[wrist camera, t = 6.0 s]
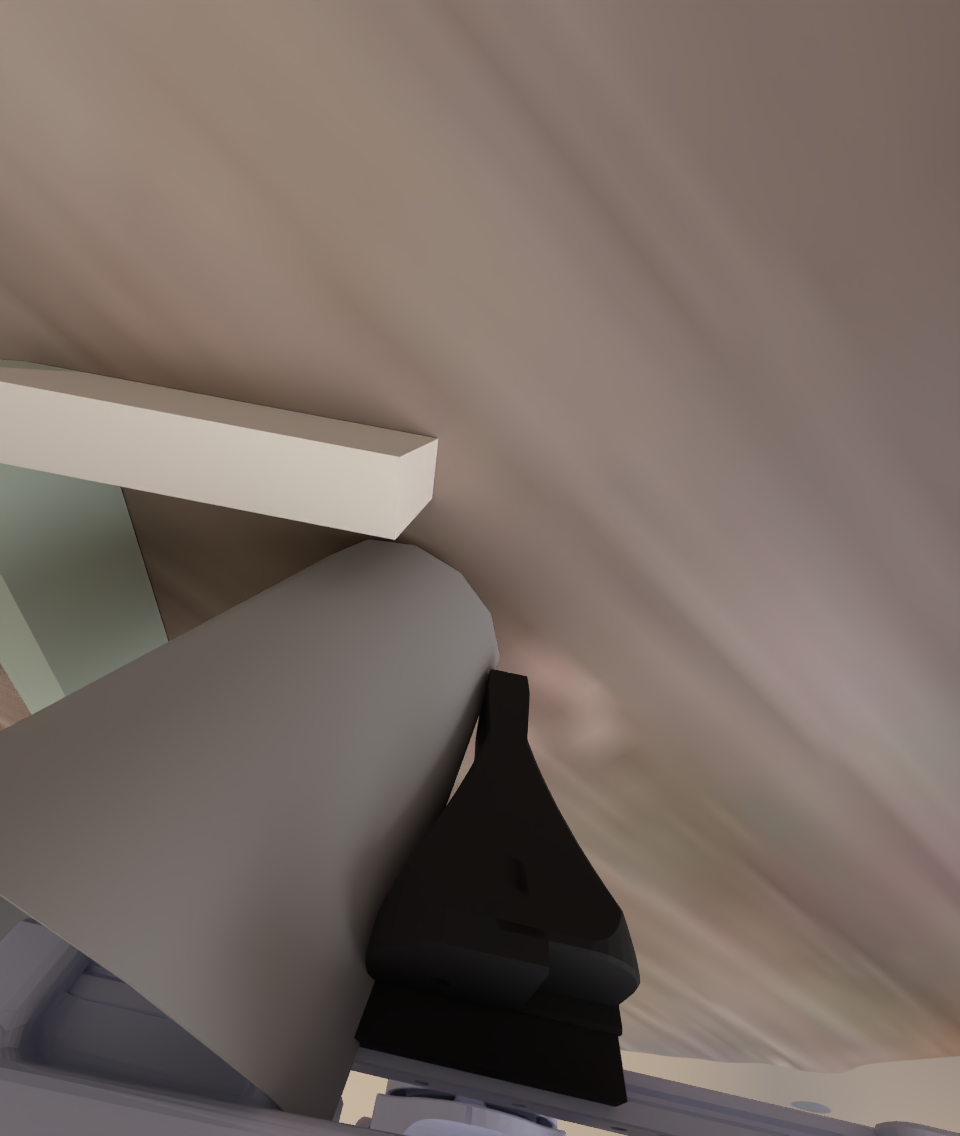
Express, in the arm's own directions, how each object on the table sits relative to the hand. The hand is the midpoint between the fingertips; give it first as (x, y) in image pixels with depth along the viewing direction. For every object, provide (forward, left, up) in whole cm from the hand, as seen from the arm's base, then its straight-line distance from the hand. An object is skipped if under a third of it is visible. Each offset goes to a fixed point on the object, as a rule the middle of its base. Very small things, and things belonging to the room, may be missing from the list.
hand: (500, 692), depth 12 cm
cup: (0, +4, -2) cm, 5 cm away
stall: (0, +10, -3) cm, 10 cm away
